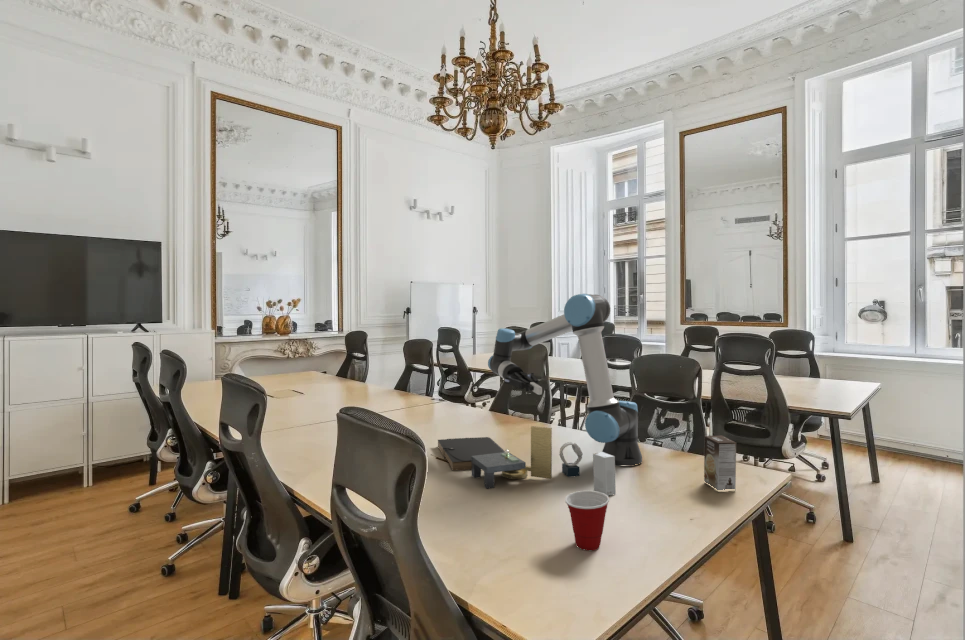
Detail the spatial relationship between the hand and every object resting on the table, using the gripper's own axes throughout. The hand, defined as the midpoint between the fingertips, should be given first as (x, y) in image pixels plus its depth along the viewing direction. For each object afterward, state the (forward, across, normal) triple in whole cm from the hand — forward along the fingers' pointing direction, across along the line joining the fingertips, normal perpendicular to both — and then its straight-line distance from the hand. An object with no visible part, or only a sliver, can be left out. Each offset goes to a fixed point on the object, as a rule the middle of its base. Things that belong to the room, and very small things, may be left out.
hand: (540, 391), depth 184 cm
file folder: (-21, +17, -32) cm, 42 cm away
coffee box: (+44, -42, -25) cm, 66 cm away
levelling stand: (+8, +20, -26) cm, 34 cm away
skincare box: (+32, -5, -24) cm, 41 cm away
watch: (+13, -6, -28) cm, 31 cm away
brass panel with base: (+9, +10, -27) cm, 30 cm away
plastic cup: (+60, +21, -17) cm, 66 cm away
